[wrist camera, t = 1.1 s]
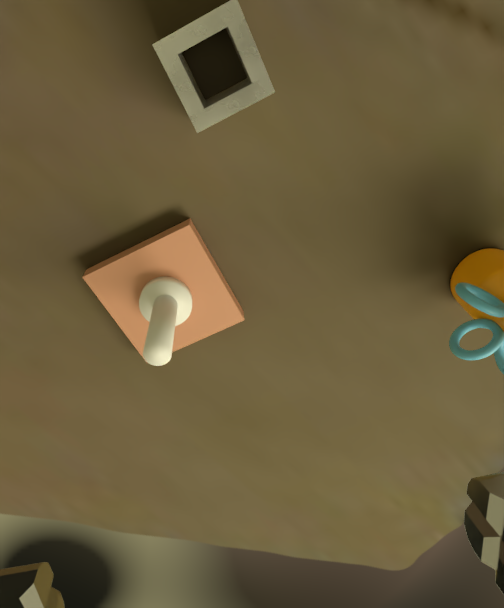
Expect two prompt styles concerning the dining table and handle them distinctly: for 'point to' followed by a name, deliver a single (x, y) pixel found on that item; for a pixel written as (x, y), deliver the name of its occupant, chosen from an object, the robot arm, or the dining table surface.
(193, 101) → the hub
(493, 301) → the orange vase with loops
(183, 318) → the shaft block
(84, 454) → the dining table surface
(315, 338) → the dining table surface
